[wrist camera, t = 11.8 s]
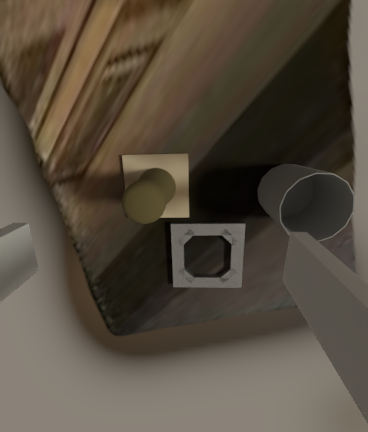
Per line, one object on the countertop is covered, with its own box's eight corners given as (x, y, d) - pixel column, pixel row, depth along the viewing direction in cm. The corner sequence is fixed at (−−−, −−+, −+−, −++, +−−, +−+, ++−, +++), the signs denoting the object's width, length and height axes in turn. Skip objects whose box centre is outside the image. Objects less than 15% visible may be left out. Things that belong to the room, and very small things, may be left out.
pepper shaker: (177, 205, 37) (169, 230, 26) (139, 206, 37) (117, 231, 27) (174, 166, 35) (165, 177, 25) (135, 168, 35) (110, 179, 25)
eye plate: (171, 222, 38) (170, 224, 37) (244, 221, 38) (245, 223, 37) (173, 283, 42) (173, 287, 41) (240, 284, 41) (241, 287, 41)
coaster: (123, 154, 35) (121, 155, 35) (188, 153, 35) (187, 153, 34) (129, 216, 38) (128, 217, 38) (189, 216, 38) (189, 217, 37)
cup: (265, 223, 38) (289, 251, 28) (250, 177, 36) (270, 190, 26) (318, 204, 36) (361, 227, 27) (305, 155, 34) (347, 160, 25)
